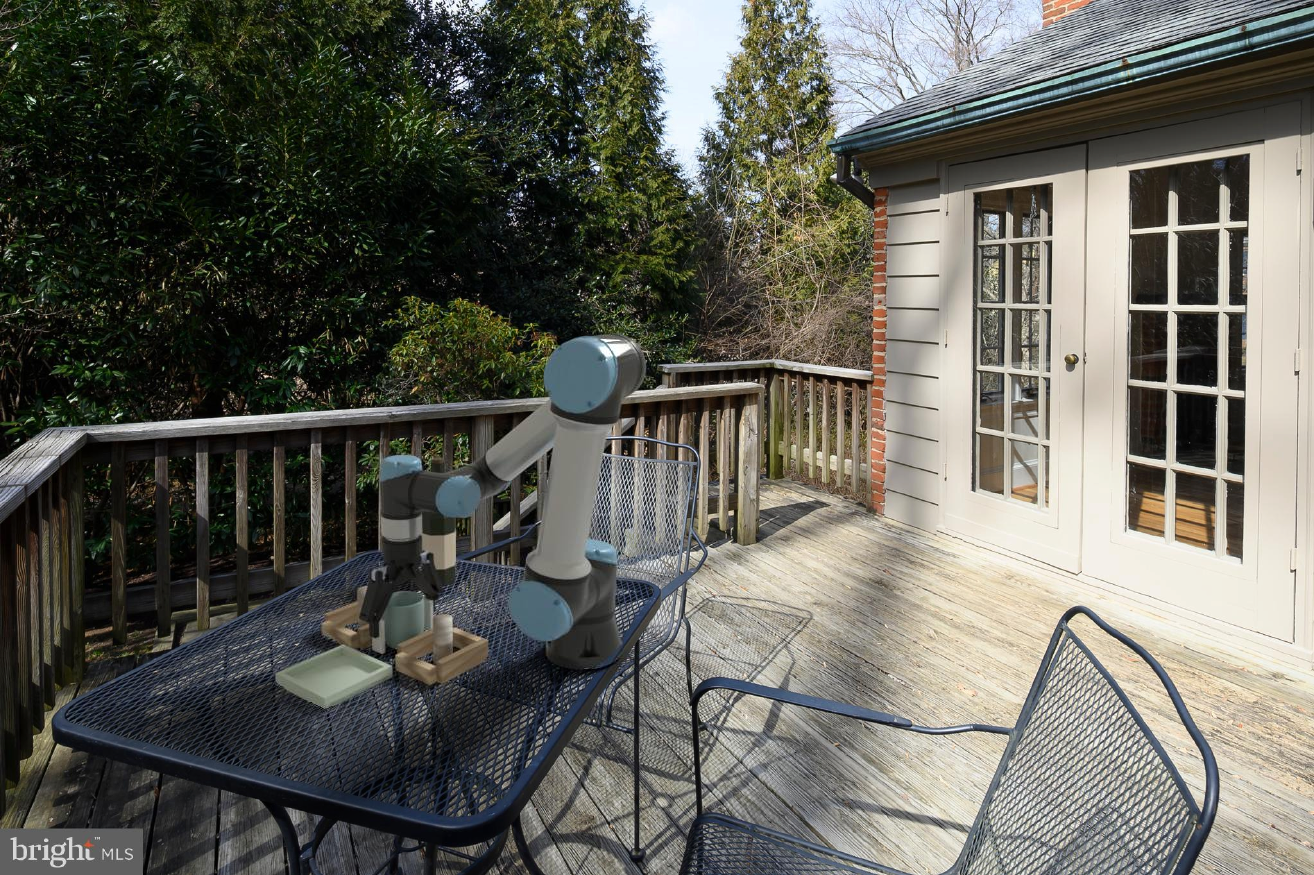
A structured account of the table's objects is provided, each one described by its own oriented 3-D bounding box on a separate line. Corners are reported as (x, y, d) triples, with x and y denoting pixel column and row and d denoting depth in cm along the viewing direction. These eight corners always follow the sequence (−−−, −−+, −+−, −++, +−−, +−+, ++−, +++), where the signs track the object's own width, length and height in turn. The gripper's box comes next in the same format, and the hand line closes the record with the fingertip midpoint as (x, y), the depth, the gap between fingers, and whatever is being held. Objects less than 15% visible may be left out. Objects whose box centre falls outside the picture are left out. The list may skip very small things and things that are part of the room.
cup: (374, 649, 156) (373, 601, 154) (401, 633, 163) (400, 588, 161) (406, 658, 153) (405, 610, 151) (432, 641, 160) (432, 595, 158)
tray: (392, 677, 146) (392, 666, 146) (325, 710, 135) (324, 698, 134) (343, 654, 153) (343, 644, 153) (275, 684, 142) (275, 673, 141)
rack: (493, 656, 156) (493, 613, 154) (435, 687, 143) (434, 641, 141) (378, 610, 173) (377, 571, 171) (317, 635, 161) (315, 593, 159)
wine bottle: (447, 588, 187) (446, 464, 180) (414, 584, 188) (412, 461, 182) (462, 575, 195) (462, 456, 188) (431, 571, 196) (429, 453, 190)
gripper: (435, 517, 165) (436, 614, 170) (336, 547, 145) (340, 656, 150) (461, 524, 161) (461, 624, 166) (362, 556, 142) (366, 668, 146)
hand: (403, 639), depth 158 cm, fingers open, 11 cm apart
